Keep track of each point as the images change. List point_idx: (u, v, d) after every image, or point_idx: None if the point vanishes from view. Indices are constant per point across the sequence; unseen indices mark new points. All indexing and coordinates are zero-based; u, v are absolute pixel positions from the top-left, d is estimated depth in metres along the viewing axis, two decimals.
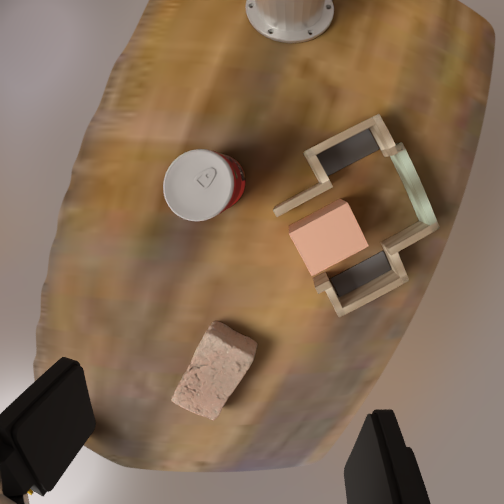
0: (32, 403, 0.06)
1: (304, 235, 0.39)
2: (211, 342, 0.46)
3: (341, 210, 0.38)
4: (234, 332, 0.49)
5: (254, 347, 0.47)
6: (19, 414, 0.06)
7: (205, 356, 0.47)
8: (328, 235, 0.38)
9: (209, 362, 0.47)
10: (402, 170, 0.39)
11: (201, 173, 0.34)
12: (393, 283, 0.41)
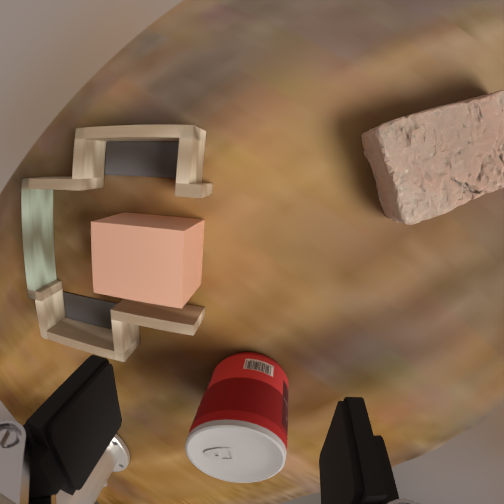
0: (66, 401, 0.07)
1: (162, 292, 0.24)
2: (413, 206, 0.23)
3: (103, 289, 0.25)
4: (376, 180, 0.25)
5: (366, 138, 0.23)
6: (54, 413, 0.06)
7: (441, 193, 0.22)
8: (132, 270, 0.24)
9: (445, 179, 0.22)
10: (42, 263, 0.29)
11: (222, 459, 0.22)
12: (94, 135, 0.24)
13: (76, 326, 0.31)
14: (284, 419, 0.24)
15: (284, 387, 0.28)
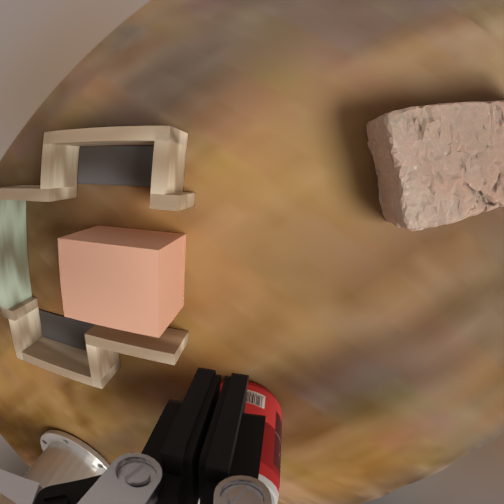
0: (195, 422, 0.07)
1: (137, 319, 0.20)
2: (418, 209, 0.19)
3: (74, 313, 0.21)
4: (378, 176, 0.22)
5: (372, 125, 0.20)
6: (188, 436, 0.07)
7: (452, 199, 0.19)
8: (103, 294, 0.20)
9: (457, 183, 0.18)
10: (16, 280, 0.25)
11: None
12: (63, 139, 0.20)
13: (53, 347, 0.27)
14: (276, 457, 0.20)
15: (277, 419, 0.24)
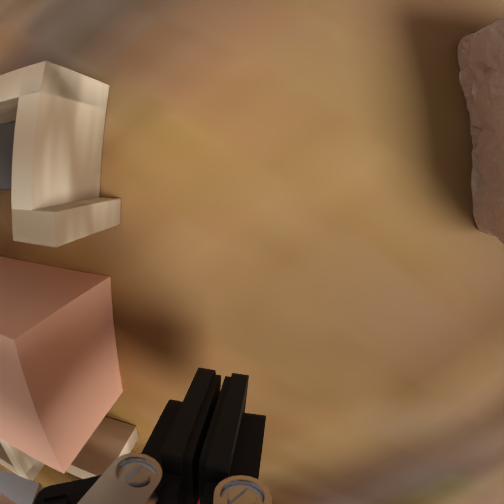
0: (195, 422, 0.07)
1: (25, 441, 0.08)
2: None
3: None
4: (479, 138, 0.09)
5: (479, 36, 0.07)
6: (188, 436, 0.07)
7: None
8: None
9: None
10: None
11: None
12: None
13: None
14: None
15: None
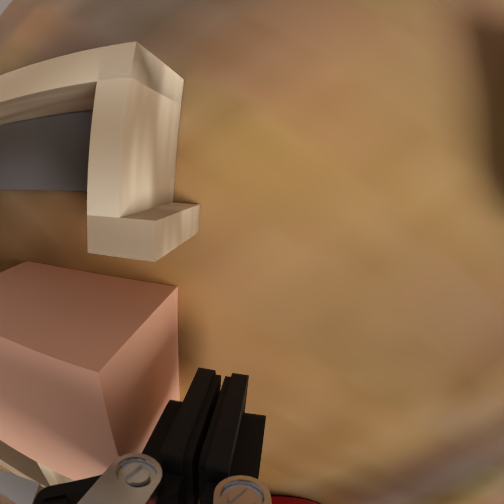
0: (195, 422, 0.07)
1: (87, 473, 0.08)
2: None
3: None
4: None
5: None
6: (189, 436, 0.07)
7: None
8: (18, 419, 0.08)
9: None
10: None
11: None
12: None
13: None
14: None
15: None
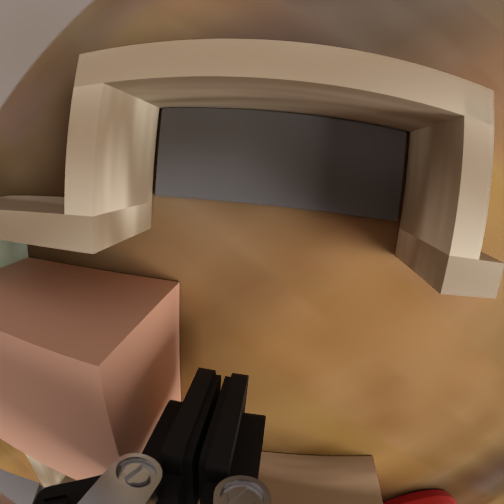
0: (195, 422, 0.07)
1: (86, 471, 0.08)
2: None
3: None
4: None
5: None
6: (189, 436, 0.07)
7: None
8: (17, 416, 0.07)
9: None
10: None
11: None
12: (146, 69, 0.07)
13: None
14: None
15: None
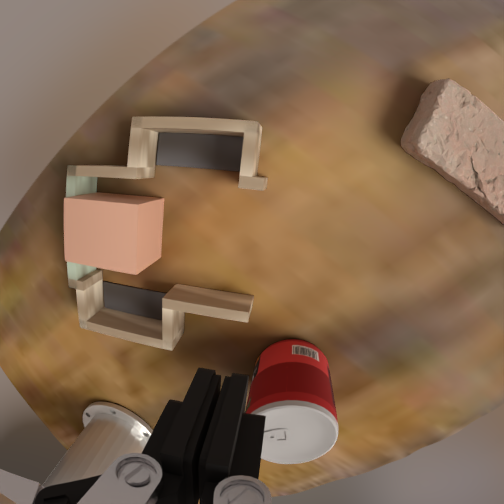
0: (195, 422, 0.07)
1: (120, 260, 0.26)
2: (431, 141, 0.23)
3: (72, 257, 0.27)
4: (416, 114, 0.25)
5: (434, 82, 0.23)
6: (189, 436, 0.07)
7: (456, 157, 0.23)
8: (96, 240, 0.26)
9: (466, 152, 0.23)
10: None
11: (276, 440, 0.24)
12: (153, 125, 0.25)
13: (117, 316, 0.33)
14: (333, 400, 0.26)
15: (328, 371, 0.30)
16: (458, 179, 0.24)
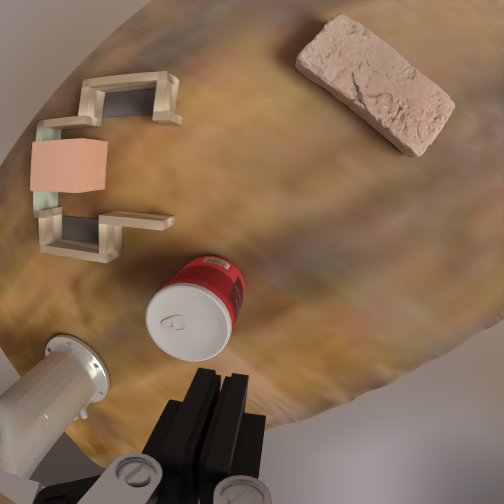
0: (195, 422, 0.07)
1: (67, 182, 0.31)
2: (312, 55, 0.28)
3: (35, 187, 0.32)
4: None
5: None
6: (189, 437, 0.07)
7: (336, 71, 0.28)
8: (52, 170, 0.31)
9: (347, 68, 0.27)
10: None
11: (176, 331, 0.28)
12: (97, 83, 0.30)
13: (70, 243, 0.38)
14: (232, 297, 0.30)
15: (238, 281, 0.34)
16: (337, 89, 0.28)
